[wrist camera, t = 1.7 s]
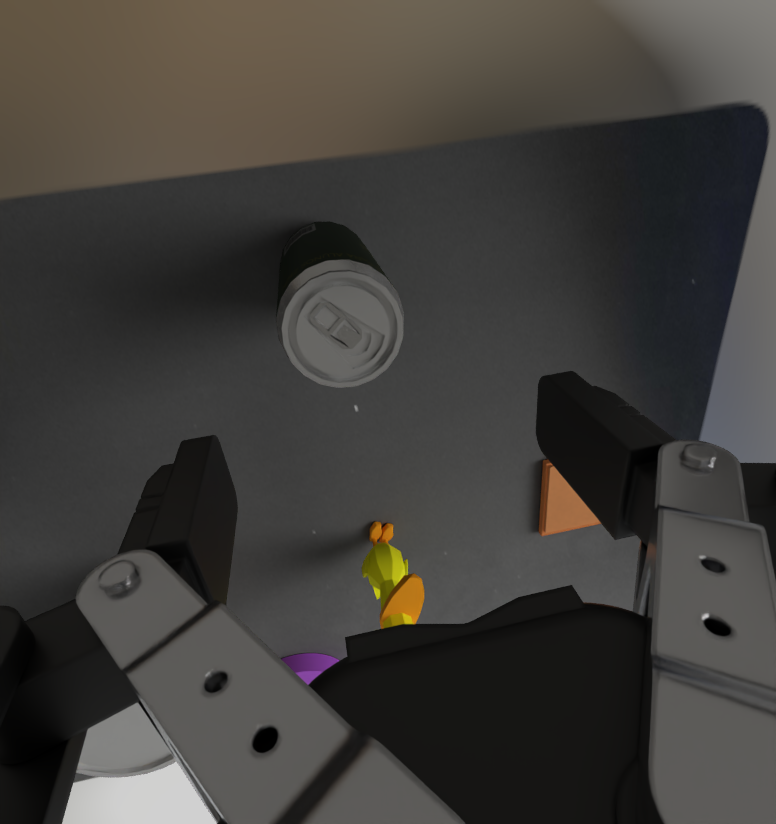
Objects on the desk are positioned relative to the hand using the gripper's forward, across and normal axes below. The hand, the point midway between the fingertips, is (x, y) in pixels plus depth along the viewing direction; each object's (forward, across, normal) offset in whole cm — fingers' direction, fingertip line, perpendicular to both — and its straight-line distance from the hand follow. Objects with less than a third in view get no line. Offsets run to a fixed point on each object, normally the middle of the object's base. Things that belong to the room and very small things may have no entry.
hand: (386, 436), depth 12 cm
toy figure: (+21, -1, +22) cm, 31 cm away
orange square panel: (+21, -19, +22) cm, 36 cm away
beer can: (+21, 0, 0) cm, 21 cm away
